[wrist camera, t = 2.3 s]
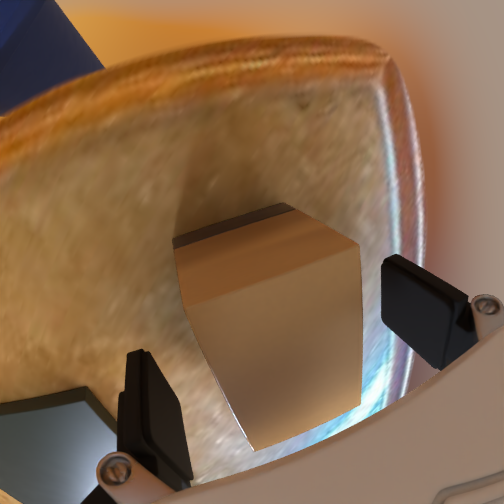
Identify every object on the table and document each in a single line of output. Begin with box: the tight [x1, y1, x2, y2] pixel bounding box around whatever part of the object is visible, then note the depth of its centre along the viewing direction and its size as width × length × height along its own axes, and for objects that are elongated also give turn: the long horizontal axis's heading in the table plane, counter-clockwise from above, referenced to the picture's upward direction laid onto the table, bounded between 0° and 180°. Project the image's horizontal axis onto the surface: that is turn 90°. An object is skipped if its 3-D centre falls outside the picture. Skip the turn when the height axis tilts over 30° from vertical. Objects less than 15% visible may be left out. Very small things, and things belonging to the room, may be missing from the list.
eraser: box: [172, 203, 363, 452], centre depth 11 cm, size 7×4×5 cm, turn 14°
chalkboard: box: [0, 387, 117, 504], centre depth 15 cm, size 22×18×1 cm
